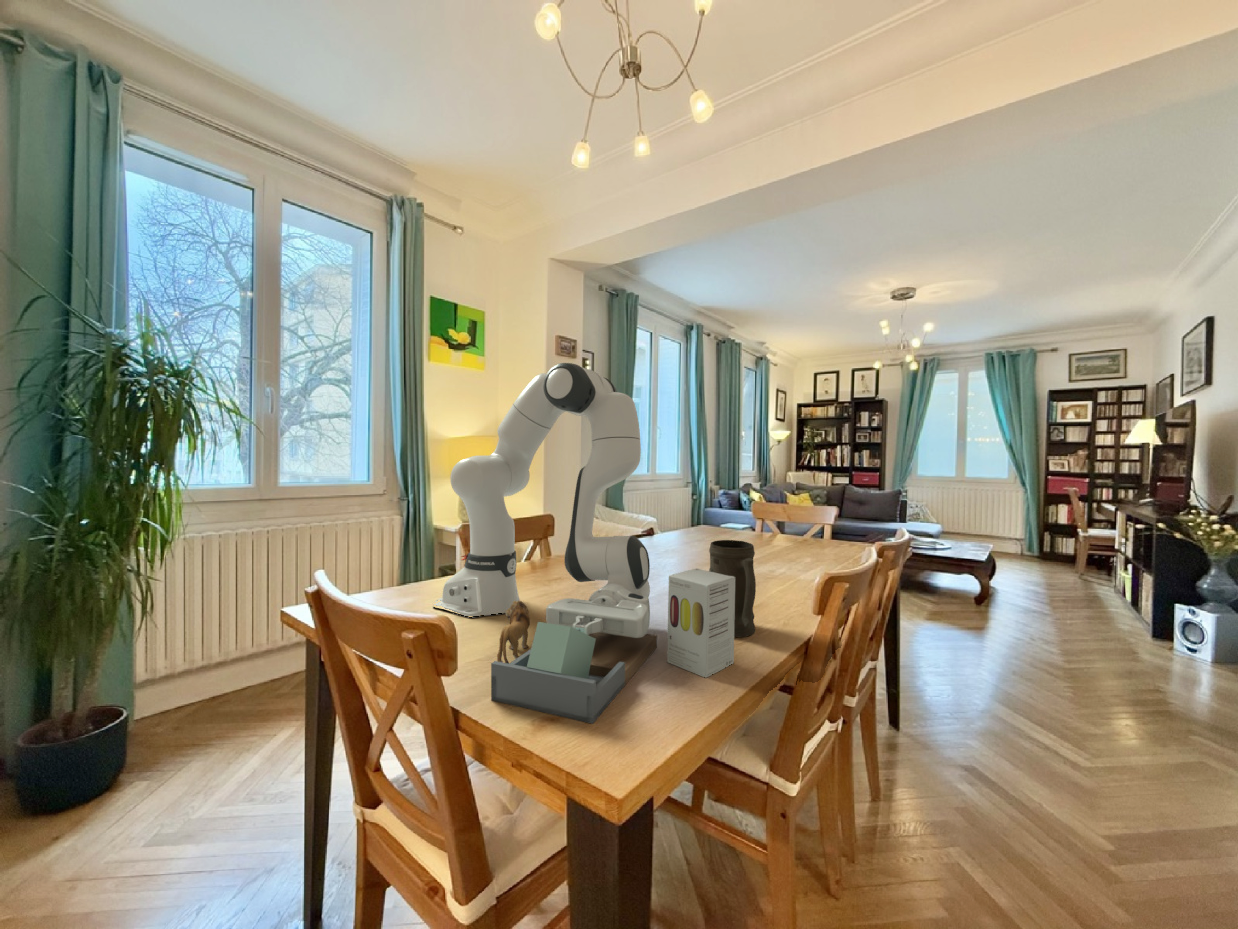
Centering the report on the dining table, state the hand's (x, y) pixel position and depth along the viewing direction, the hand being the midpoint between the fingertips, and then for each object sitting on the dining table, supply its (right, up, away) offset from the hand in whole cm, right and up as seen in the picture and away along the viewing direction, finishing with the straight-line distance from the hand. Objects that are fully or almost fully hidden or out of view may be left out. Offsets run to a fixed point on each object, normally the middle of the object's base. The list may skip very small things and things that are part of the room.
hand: (579, 630), depth 89 cm
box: (-3, -8, -6) cm, 11 cm away
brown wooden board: (+3, -8, +8) cm, 12 cm away
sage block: (0, -4, -1) cm, 4 cm away
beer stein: (+33, -8, +22) cm, 41 cm away
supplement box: (+23, -8, +6) cm, 25 cm away
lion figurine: (-14, -8, +10) cm, 19 cm away
